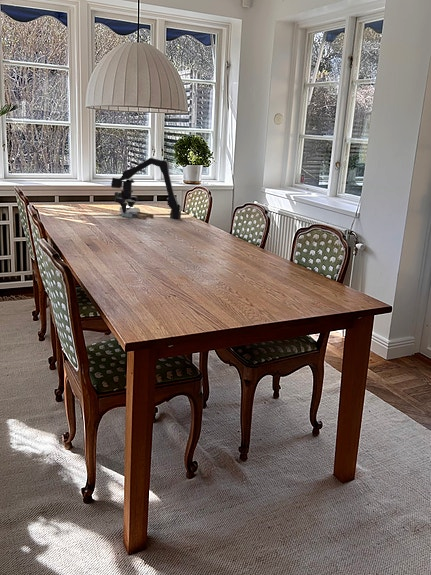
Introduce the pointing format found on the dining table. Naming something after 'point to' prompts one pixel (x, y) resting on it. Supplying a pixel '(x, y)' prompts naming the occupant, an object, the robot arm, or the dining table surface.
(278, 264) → the dining table surface
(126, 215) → the v block
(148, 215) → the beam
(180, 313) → the dining table surface
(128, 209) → the silver metal tumbler
